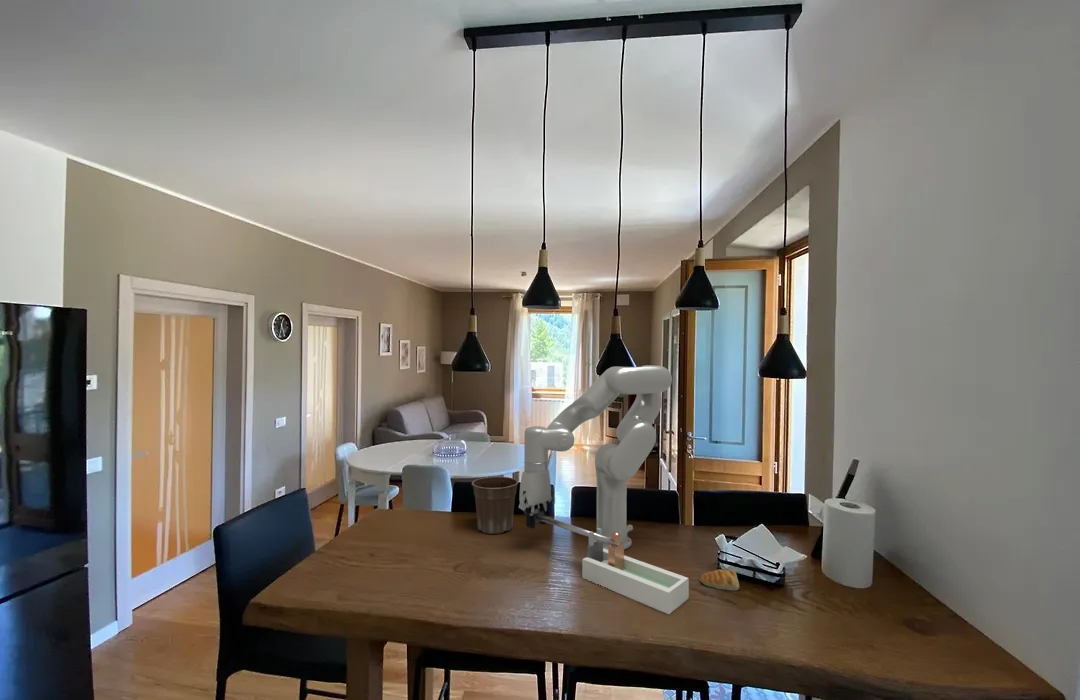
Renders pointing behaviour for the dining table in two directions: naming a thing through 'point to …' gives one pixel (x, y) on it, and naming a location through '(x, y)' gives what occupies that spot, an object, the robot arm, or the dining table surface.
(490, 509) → the plant pot
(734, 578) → the pastry
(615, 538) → the kicker rod
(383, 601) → the dining table surface
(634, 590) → the foosball box
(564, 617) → the dining table surface
